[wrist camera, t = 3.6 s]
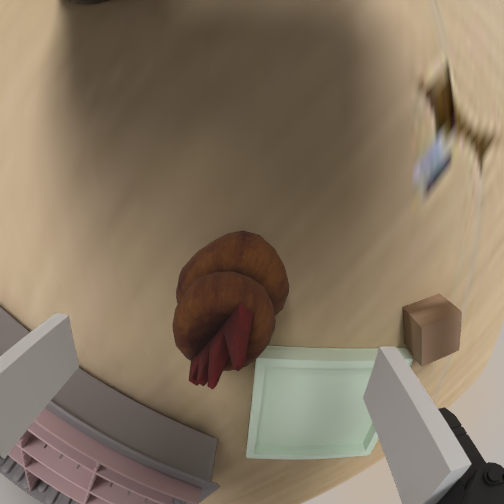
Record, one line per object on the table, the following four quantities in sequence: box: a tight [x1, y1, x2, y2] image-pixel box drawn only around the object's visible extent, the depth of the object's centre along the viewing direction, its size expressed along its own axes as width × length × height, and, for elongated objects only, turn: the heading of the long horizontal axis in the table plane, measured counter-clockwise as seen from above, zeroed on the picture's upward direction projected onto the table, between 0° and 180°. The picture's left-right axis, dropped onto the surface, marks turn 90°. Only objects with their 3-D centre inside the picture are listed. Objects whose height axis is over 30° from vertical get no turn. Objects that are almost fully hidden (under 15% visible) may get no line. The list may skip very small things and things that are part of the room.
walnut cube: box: [403, 294, 462, 366], centre depth 22 cm, size 4×4×4 cm
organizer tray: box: [0, 307, 220, 504], centre depth 27 cm, size 32×40×10 cm
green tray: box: [246, 345, 413, 460], centre depth 26 cm, size 14×14×2 cm
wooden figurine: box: [173, 231, 289, 389], centre depth 16 cm, size 7×6×15 cm
